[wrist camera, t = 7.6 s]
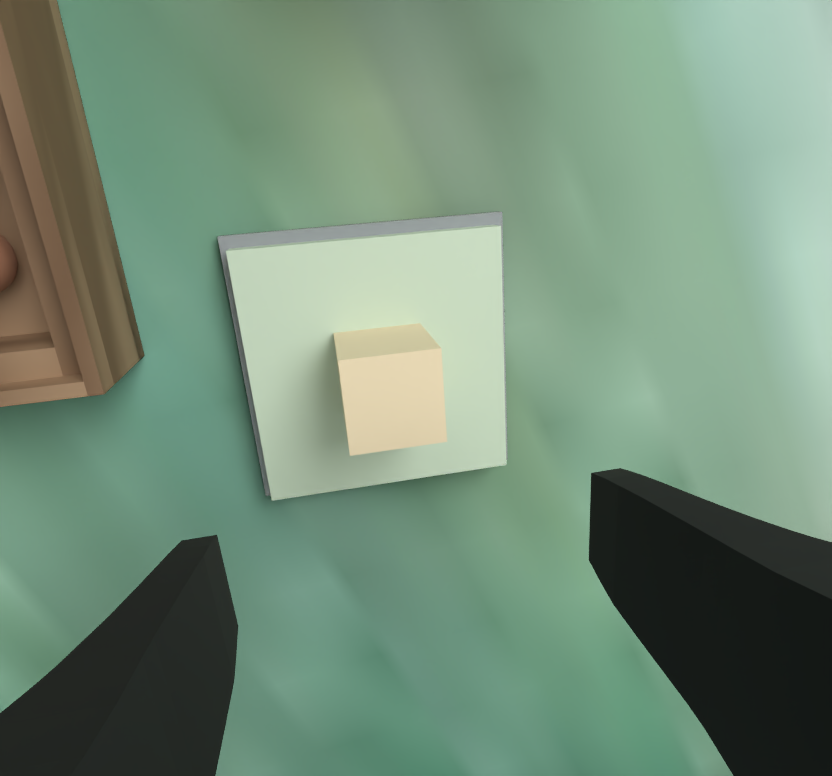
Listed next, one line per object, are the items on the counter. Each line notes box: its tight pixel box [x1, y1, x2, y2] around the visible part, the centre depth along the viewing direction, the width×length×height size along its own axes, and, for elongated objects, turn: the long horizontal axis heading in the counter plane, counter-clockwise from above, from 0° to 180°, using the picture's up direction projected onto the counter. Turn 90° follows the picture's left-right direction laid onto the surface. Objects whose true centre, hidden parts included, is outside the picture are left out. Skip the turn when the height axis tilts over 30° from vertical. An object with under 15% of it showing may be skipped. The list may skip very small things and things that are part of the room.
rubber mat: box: [217, 212, 507, 496], centre depth 19 cm, size 9×9×1 cm
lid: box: [226, 225, 506, 501], centre depth 17 cm, size 8×8×4 cm
